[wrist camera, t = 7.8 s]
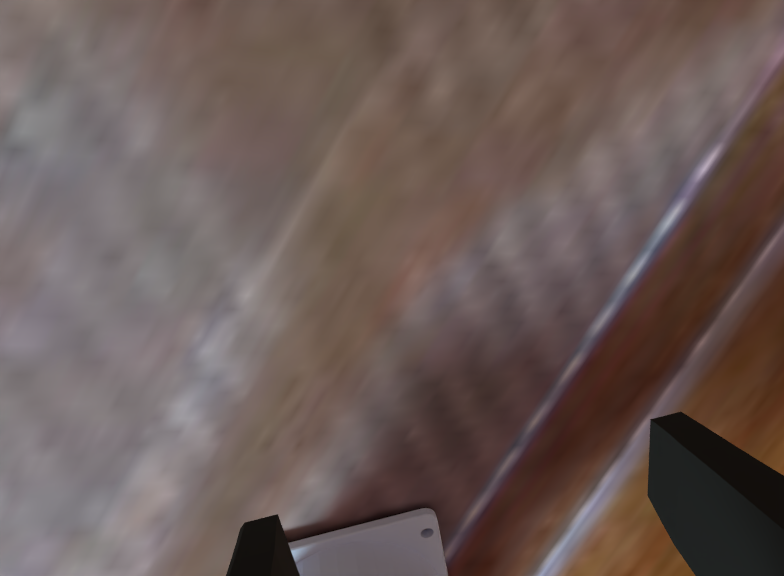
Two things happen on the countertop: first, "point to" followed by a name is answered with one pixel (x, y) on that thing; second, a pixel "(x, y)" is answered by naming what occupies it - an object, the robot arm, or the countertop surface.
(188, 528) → the countertop surface
